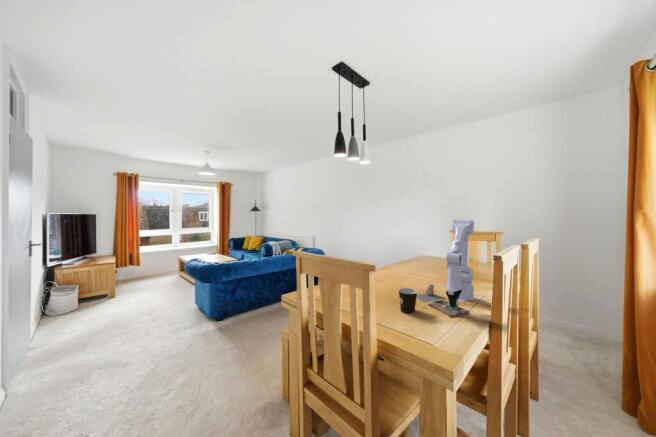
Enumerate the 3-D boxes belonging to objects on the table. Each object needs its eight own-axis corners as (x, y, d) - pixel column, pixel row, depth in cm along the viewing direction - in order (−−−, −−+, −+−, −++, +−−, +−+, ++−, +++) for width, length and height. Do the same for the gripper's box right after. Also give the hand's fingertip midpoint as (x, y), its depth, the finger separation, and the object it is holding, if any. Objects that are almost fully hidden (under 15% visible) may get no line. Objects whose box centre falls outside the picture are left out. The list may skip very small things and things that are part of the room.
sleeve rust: (429, 293, 142) (430, 283, 142) (435, 295, 138) (435, 285, 138) (424, 294, 141) (424, 284, 140) (429, 296, 137) (429, 286, 137)
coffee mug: (418, 315, 114) (418, 294, 113) (399, 314, 115) (399, 293, 115) (414, 305, 125) (414, 286, 125) (397, 304, 127) (397, 285, 126)
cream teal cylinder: (460, 310, 116) (460, 298, 116) (453, 312, 115) (454, 299, 114) (453, 307, 120) (453, 295, 120) (446, 308, 118) (446, 296, 118)
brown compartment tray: (445, 302, 129) (445, 298, 129) (469, 313, 116) (469, 308, 116) (427, 305, 125) (427, 301, 125) (450, 317, 112) (450, 312, 112)
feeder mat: (431, 293, 144) (431, 292, 144) (444, 299, 134) (444, 298, 134) (412, 296, 139) (412, 295, 139) (425, 302, 129) (425, 301, 129)
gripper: (448, 272, 125) (448, 299, 125) (441, 279, 113) (440, 308, 114) (464, 275, 120) (463, 302, 121) (458, 282, 109) (457, 312, 110)
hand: (453, 305), depth 117 cm, fingers closed on cream teal cylinder, 4 cm apart
